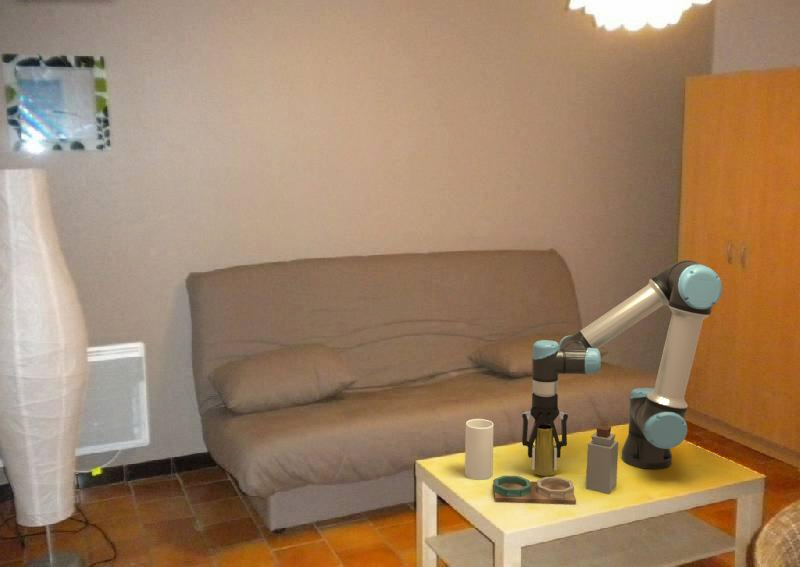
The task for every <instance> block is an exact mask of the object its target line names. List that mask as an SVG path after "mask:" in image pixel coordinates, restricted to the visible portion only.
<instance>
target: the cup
mask: <svg viewBox="0 0 800 567" xmlns="http://www.w3.org/2000/svg"><path fill="white" fill-rule="evenodd" d="M464 448H465V451H464V452H465V453H464V454H465V455H464V456H465V457H464V458H465V460H464V463H465V465H464V476H466V477H467V478H469V479H471V480H475V481H484V480H488V479H490V478H492V477H493V474H494V473H493V469H494V468H493V467H494V464H493V463H494V422H493V421H491V420H489V419H488V420H487V419H484V418H473V419H469V420H467V421H466V422H465V447H464Z"/></svg>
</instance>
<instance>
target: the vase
mask: <svg viewBox="0 0 800 567" xmlns="http://www.w3.org/2000/svg"><path fill="white" fill-rule="evenodd" d="M552 431H553V428H551V426H550V424H540V427H539V428H537V435H536V438H535V441H534V443H535V445H534V446H535V469H533V473H534V474H536V475H538V476H541V477H542V476H543V477H550V476H552V475H553V474H555V470H554V446H553V445H554V441H555V439H554V436H553V432H552Z"/></svg>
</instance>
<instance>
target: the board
mask: <svg viewBox="0 0 800 567" xmlns="http://www.w3.org/2000/svg"><path fill="white" fill-rule="evenodd" d="M492 482H493V483H492V484H493V493H494V494H493V495H494V500H495V503H512V504H513V503H518V504H520V503H522V504H523V503H524V504H547V505H548V504H550V505H553V504H554V505H577V499H576V496H575V486H574V483H573V481H572V480H569V479H567V478H564V477H561V476H543V477H542V478H540V479H537V480H536V481H535V480H534V481H530V480H529V479H527V478H524V477H522V476H520V475H502V476H501V475H500V476H498V477H496V478H494V479H493V480H492Z"/></svg>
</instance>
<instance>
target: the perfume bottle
mask: <svg viewBox="0 0 800 567" xmlns="http://www.w3.org/2000/svg"><path fill="white" fill-rule="evenodd" d="M595 429H596V430H595V432H594V433H593V434H591V436H590V438H591V441H589V442H588V443H587V455H586V476H585V477H586V482H585V490H589V491H594V492H597V493H602V494H606V495H610V494H611V492H613V491H614V489H615V488H616V487H617V478H618V476H617V474H618V461H619V460H618V458H619V457H618V456H619V441H617V440H615V438H616V436H617V435H616V433H613V432H611V430H612V426H608V425H607V426H606V425H601V424H600V425H598V426H597V427H596V428H595Z"/></svg>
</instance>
